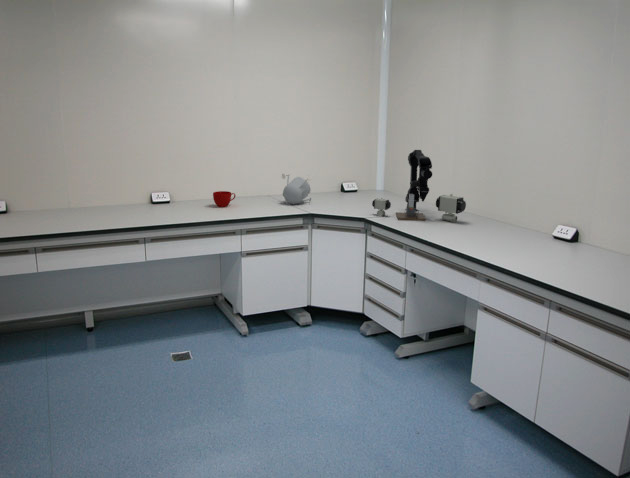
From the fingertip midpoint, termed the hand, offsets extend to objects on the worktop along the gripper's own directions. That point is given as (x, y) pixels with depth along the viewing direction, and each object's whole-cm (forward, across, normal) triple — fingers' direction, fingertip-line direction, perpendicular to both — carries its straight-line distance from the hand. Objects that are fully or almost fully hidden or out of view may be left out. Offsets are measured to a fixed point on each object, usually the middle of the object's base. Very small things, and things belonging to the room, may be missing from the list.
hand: (421, 200), depth 360 cm
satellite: (+12, -40, -87) cm, 97 cm away
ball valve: (+12, +8, +18) cm, 23 cm away
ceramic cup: (+12, -24, -138) cm, 141 cm away
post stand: (+12, 0, -7) cm, 14 cm away
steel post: (+7, 0, -7) cm, 9 cm away
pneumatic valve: (+12, -5, -26) cm, 29 cm away
